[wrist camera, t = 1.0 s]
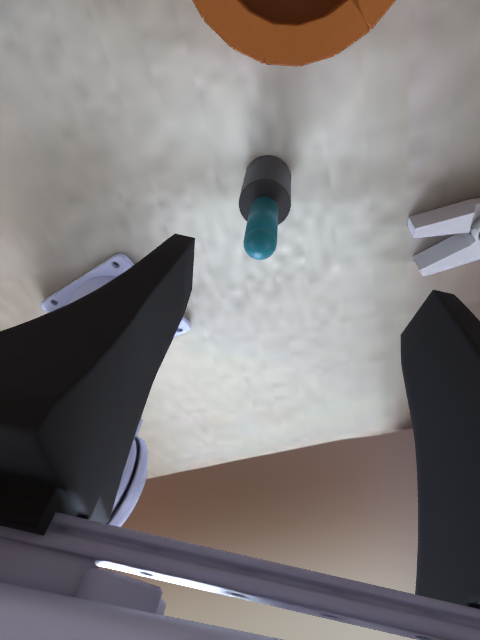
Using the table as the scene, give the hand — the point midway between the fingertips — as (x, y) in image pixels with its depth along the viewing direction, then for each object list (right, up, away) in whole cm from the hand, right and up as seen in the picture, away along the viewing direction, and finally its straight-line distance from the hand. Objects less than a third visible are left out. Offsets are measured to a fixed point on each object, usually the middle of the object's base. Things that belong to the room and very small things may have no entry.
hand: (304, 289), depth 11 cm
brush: (0, +7, +10) cm, 12 cm away
